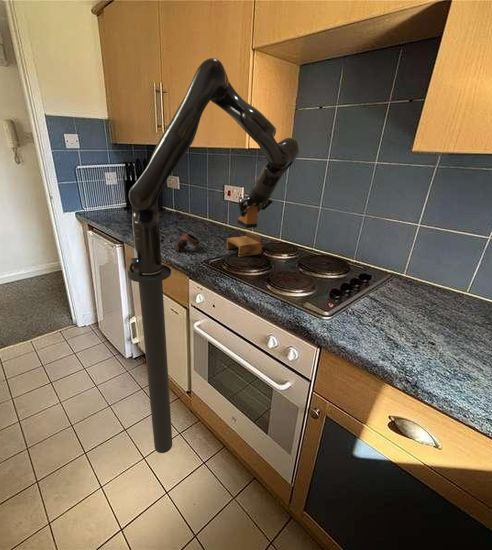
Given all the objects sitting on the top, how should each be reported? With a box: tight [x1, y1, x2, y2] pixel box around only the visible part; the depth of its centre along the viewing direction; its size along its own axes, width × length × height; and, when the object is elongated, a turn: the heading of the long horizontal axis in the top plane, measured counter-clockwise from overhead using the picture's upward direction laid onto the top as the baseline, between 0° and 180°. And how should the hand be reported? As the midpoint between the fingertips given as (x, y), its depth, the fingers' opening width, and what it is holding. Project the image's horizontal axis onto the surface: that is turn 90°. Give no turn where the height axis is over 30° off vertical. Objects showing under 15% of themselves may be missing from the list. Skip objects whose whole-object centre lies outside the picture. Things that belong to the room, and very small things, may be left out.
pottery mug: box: [175, 233, 200, 252], centre depth 132 cm, size 12×10×8 cm
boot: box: [237, 206, 258, 229], centre depth 123 cm, size 9×5×10 cm, turn 20°
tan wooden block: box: [226, 231, 263, 258], centre depth 133 cm, size 11×12×7 cm
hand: (247, 214), depth 123 cm, fingers closed on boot, 4 cm apart
